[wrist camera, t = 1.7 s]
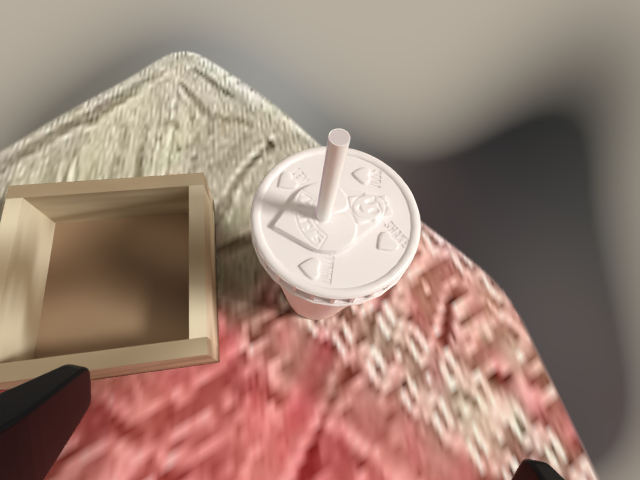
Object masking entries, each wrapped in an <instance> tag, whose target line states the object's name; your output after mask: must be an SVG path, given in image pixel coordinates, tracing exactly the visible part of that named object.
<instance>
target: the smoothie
mask: <svg viewBox="0 0 640 480" xmlns="http://www.w3.org/2000/svg"><path fill="white" fill-rule="evenodd" d="M349 142H350V135H349V133H348V132H347V131H345V130H343V129H334V130H332V131H331V132H330V133H329V137H328V143H327V147H316V148H311V149H306V150H303V151H300V152H297V153H295V154H293V155H291V156H289V157H287V158H285V159H284V160H282V161H280V162H279V163H278V164H277V165H275V166H274V167H273V168H272V169H271V170H270V171H269V172H268V173H267V174H266V175H265V177H264V178H263V180H262V181H261V183H260V184H259V186H258V188H257V190H256V193H255V195H254V198H253V201H252V207H251V232H252V243H253V246H254V248H255V251H256V254H257V256H258V259H259V262H260V263H261V265H262V266H263V267H264V269H265V270H266V271H267V273H268V274H269V275H270V277H271V278H272V279H273V280H274V281H275V282H276V283H278V284H279V285H280V286H281V288H282V290H283V292H284V294H285V296H286V298H287V300H288V302H289V304H290V306H291V307H292V308H293V310H294V311H295V312H296V313H298V314H299V315H301V316H303V317H305V318H308V319H312V320H321V319H326V318H328V317H330V316H332V315H334V314H336V313H337V312H339V311H340V310H342V309H344V308H345V307H347V306H349V305H358V304H361V303H364V302H366V301H369V300H371V299H374V298H376V297H379V296H381V295H382V294H383V293H385V292H386V291H387V290H388V289H390V288H391V287H392V286H394V285H395V284H396V283H397V282H398V281H399V279H400V278H401V276H402V275H403V274H404V272H405V271H406V269H407V268H408V266H409V265H410V263H411V261H412V260H413V258H414V256H415V253H416V251H417V248H418V244H419V240H420V231H421V224H420V215H419V211H418V207H417V204H416V201H415V199H414V197H413V195H412V193H411V191H410V189H409V188H408V186H407V185H406V184H405V182H404V181H403V180H402V178H401V177H400V176H399V175H398V174H397V173H396V172H395V171H394V170H393V169H391V168H390V167H389V166H387V165H386V164H385V163H383V162H382V161H380V160H378V159H376V158H375V157H373V156H371V155H369V154H366V153H363V152H361V151H358V150H354V149H349V148H348V146H349Z"/></svg>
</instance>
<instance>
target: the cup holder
mask: <svg viewBox="0 0 640 480" xmlns="http://www.w3.org/2000/svg"><path fill="white" fill-rule="evenodd" d="M217 362H220V360H219V330H218V300H217V270H216V240H215V210H214V201H213V199H212V196H211V193H210V190H209V187H208V184H207V181H206V179H205V176H204V173H193V174H178V175H163V176H148V177H134V178H119V179H104V180H89V181H74V182H59V183H44V184H30V185H15V186H9V187H8V191H7V196H6V200H5V204H4V209H3V213H2V217H1V222H0V390H9V389H11V388H14V387H16V386H18V385H20V384H23V383H25V382H27V381H29V380H32V379H34V378H36V377H38V376H41V375H43V374H45V373H47V372H50V371H52V370H54V369H56V368H59V367H61V366H63V365H66V364H73V365H78V366H82V367H86V368H88V369H89V371H90V380H96V379H103V378H110V377H117V376H124V375H131V374H139V373H146V372H153V371H160V370H167V369H174V368H182V367H189V366H196V365H203V364H210V363H217Z"/></svg>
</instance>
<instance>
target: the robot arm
mask: <svg viewBox="0 0 640 480" xmlns="http://www.w3.org/2000/svg"><path fill="white" fill-rule="evenodd" d="M90 401H91V382H90V371H89V369H88V368H86V367H82V366H78V365H73V364H66V365H63V366H61V367H59V368H56V369H54V370H52V371H50V372H47V373H45V374H43V375H41V376H38V377H36V378H34V379H32V380H29V381H27V382H25V383H23V384H20V385H18V386H16V387H14V388H11V389H9V390H7V391H5V392H2V393H0V480H44V479H45V477H46V476H47V474H48V472H49V471H50V469H51V468H52V466H53V464H54V463H55V461H56V460H57V458H58V456H59V455H60V453H61V451H62V450H63V448H64V447H65V445H66V443H67V442H68V440H69V439H70V437H71V435H72V434H73V432H74V431H75V429H76V427H77V426H78V424H79V423H80V421H81V419H82V418H83V416H84V415H85V413H86V411H87V410H88V407H89V405H90ZM512 480H564V479H563V478H562V477H561V476H560V475H559V474H558V473H557V472H556V471H555V470H554V469H553V468H552V467H551V466H550V465H548V464H547V463H545V462H542V461H537V460H532V459H525V460H523V461H522V462H521V463H520V465H519V467H518V469H517V471H516V472H515V474H514V476H513V478H512Z"/></svg>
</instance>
